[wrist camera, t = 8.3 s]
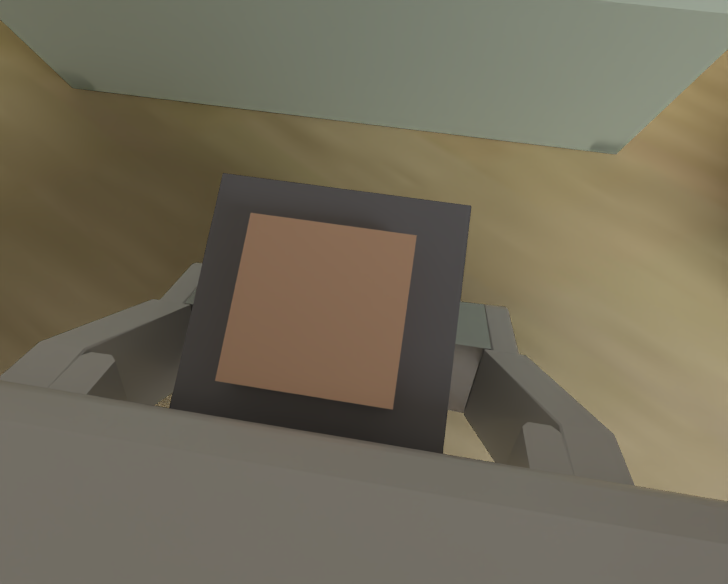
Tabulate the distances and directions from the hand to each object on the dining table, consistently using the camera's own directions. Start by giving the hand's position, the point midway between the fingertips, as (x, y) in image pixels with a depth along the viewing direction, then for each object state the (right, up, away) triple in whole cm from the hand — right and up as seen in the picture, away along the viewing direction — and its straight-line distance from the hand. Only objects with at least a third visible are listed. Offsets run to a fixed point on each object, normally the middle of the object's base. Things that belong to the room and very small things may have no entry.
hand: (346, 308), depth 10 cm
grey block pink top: (0, -1, +4) cm, 4 cm away
